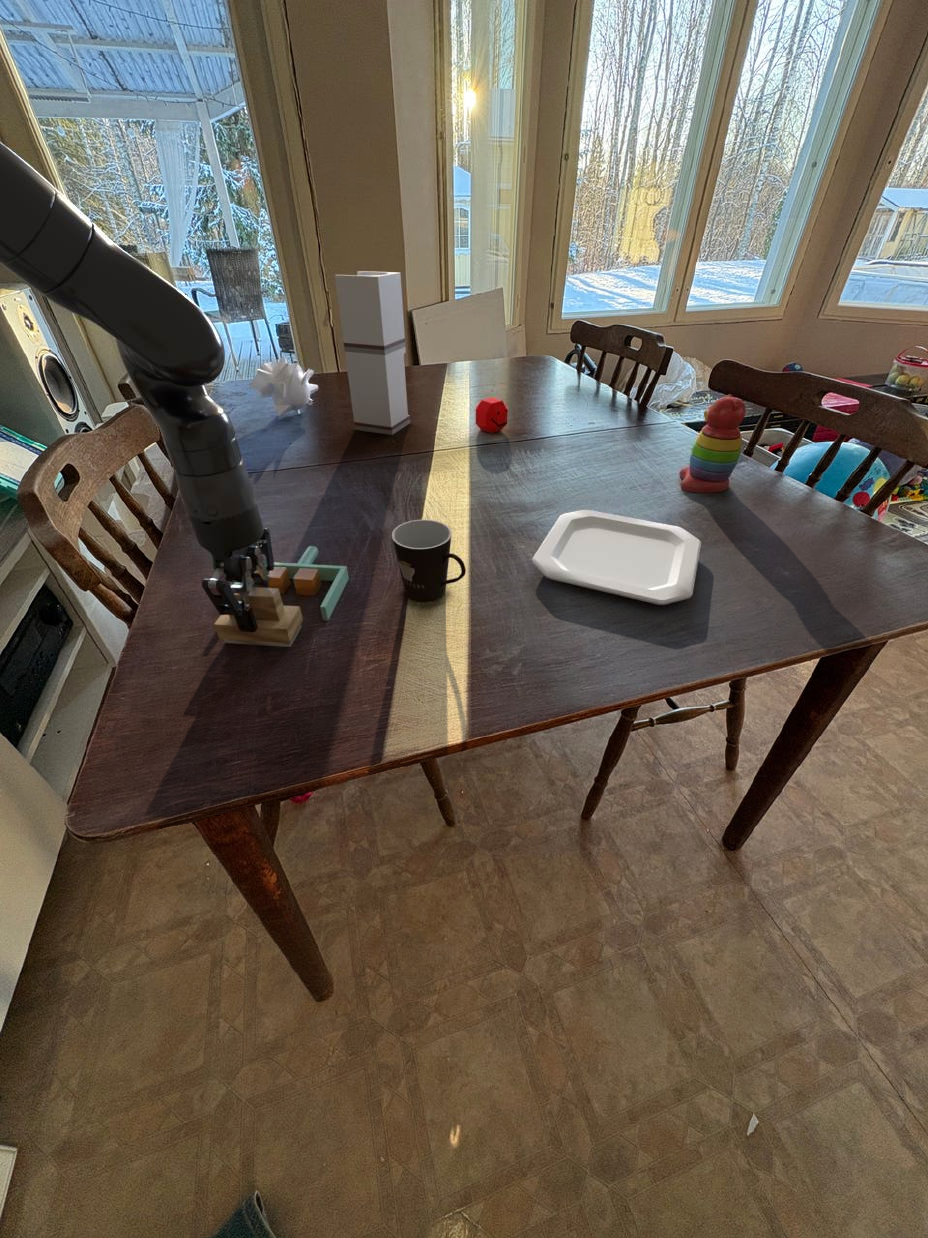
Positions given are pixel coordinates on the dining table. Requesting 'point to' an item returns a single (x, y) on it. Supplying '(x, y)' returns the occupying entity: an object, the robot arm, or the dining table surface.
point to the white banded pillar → (374, 349)
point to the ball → (491, 415)
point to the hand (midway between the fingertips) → (257, 616)
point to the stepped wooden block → (263, 621)
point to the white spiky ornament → (284, 385)
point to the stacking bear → (715, 448)
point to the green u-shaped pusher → (326, 574)
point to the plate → (621, 556)
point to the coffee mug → (424, 558)
